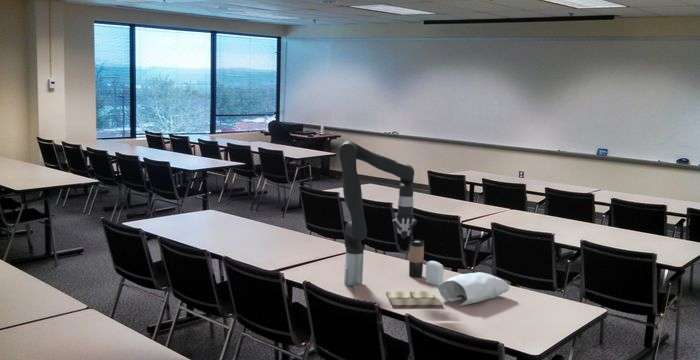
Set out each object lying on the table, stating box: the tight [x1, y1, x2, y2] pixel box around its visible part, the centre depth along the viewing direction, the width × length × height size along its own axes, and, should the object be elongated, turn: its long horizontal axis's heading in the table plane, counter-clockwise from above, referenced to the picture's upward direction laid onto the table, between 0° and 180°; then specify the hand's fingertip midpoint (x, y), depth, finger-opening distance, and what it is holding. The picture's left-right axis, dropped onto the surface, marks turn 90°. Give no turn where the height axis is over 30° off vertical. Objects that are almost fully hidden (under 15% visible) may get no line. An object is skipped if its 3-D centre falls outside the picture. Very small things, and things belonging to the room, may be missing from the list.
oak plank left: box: [385, 291, 412, 301], centre depth 312 cm, size 11×9×2 cm
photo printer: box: [425, 260, 444, 286], centre depth 338 cm, size 10×4×12 cm, turn 39°
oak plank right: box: [409, 290, 436, 298], centre depth 313 cm, size 11×9×2 cm
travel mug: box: [408, 238, 425, 279], centre depth 350 cm, size 8×8×20 cm
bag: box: [436, 271, 510, 307], centre depth 315 cm, size 19×19×35 cm
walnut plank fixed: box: [388, 297, 444, 309], centre depth 303 cm, size 24×9×2 cm, turn 96°
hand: (403, 237), depth 325 cm, fingers closed
